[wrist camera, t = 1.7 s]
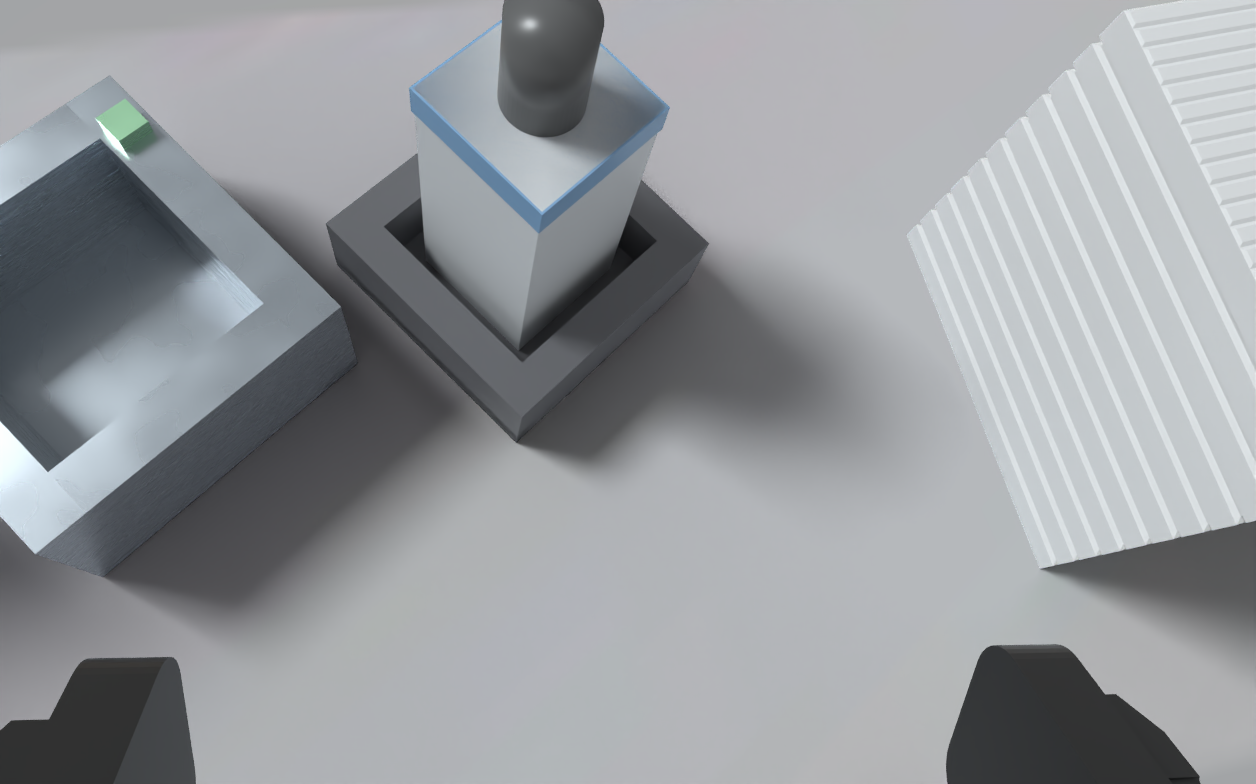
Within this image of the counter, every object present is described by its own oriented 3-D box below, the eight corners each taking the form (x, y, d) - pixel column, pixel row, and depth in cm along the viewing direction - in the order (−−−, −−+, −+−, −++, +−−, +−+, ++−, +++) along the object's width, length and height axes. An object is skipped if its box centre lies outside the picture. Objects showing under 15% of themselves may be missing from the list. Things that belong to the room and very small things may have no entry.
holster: (516, 442, 26) (521, 417, 24) (337, 264, 27) (325, 223, 25) (688, 281, 29) (709, 243, 26) (519, 120, 29) (524, 70, 27)
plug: (518, 353, 26) (554, 145, 17) (423, 260, 27) (401, 2, 17) (612, 268, 28) (698, 28, 18) (519, 180, 28) (553, -103, 18)
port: (102, 577, 24) (27, 551, 19) (-110, 348, 24) (-227, 276, 20) (358, 362, 26) (338, 299, 22) (158, 162, 27) (104, 65, 23)
